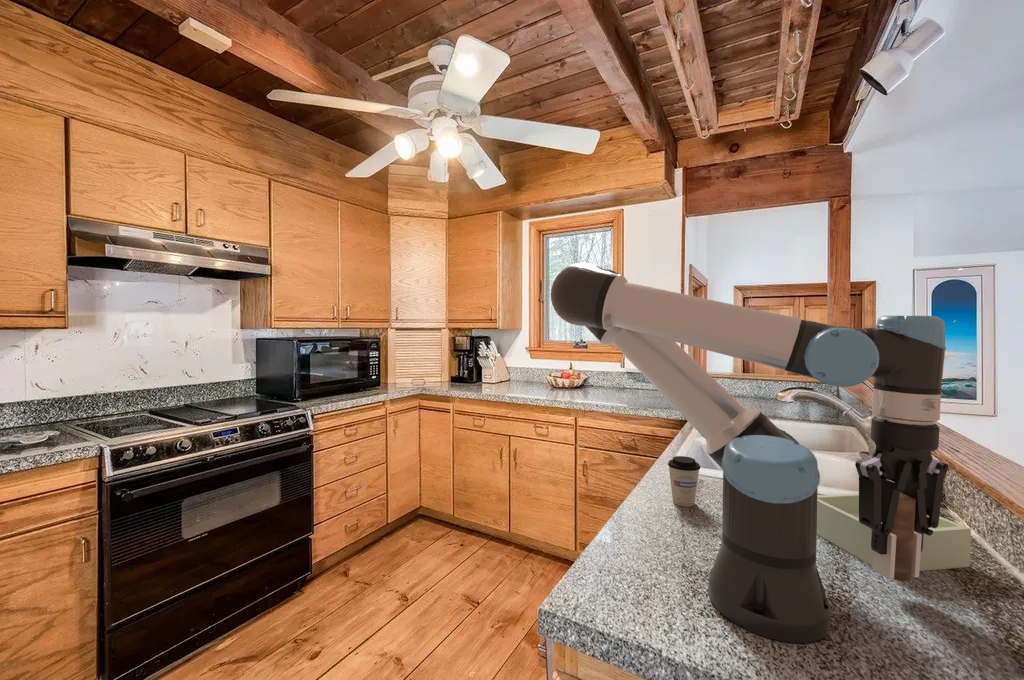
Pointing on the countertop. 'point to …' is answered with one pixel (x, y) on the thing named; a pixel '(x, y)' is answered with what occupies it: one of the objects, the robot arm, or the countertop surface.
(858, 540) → the peg box
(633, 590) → the countertop surface
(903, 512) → the peg
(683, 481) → the coffee cup
